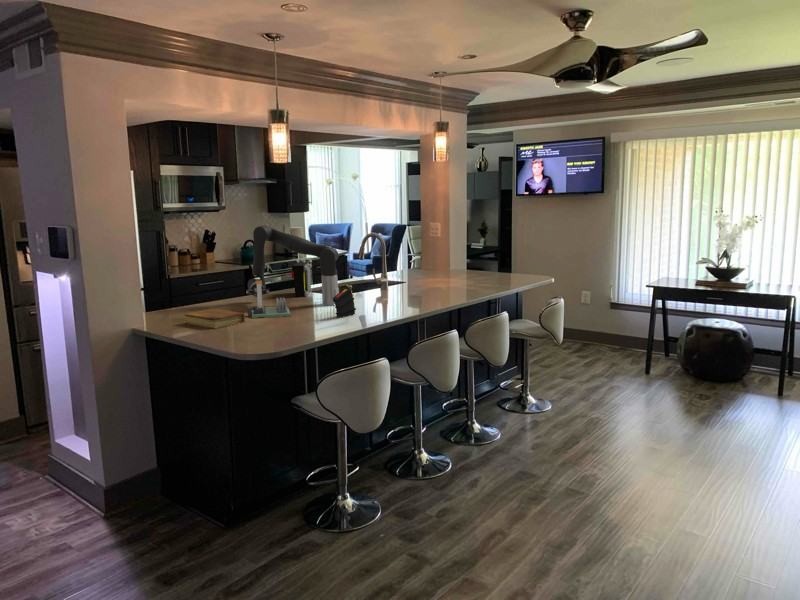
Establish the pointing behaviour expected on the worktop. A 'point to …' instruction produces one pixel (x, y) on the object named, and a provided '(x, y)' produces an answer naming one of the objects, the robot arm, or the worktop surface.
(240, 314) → the diary
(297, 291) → the electrical component
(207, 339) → the worktop surface
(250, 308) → the heatsink
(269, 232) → the robot arm
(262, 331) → the worktop surface
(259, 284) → the clip lever
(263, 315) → the board
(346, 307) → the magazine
